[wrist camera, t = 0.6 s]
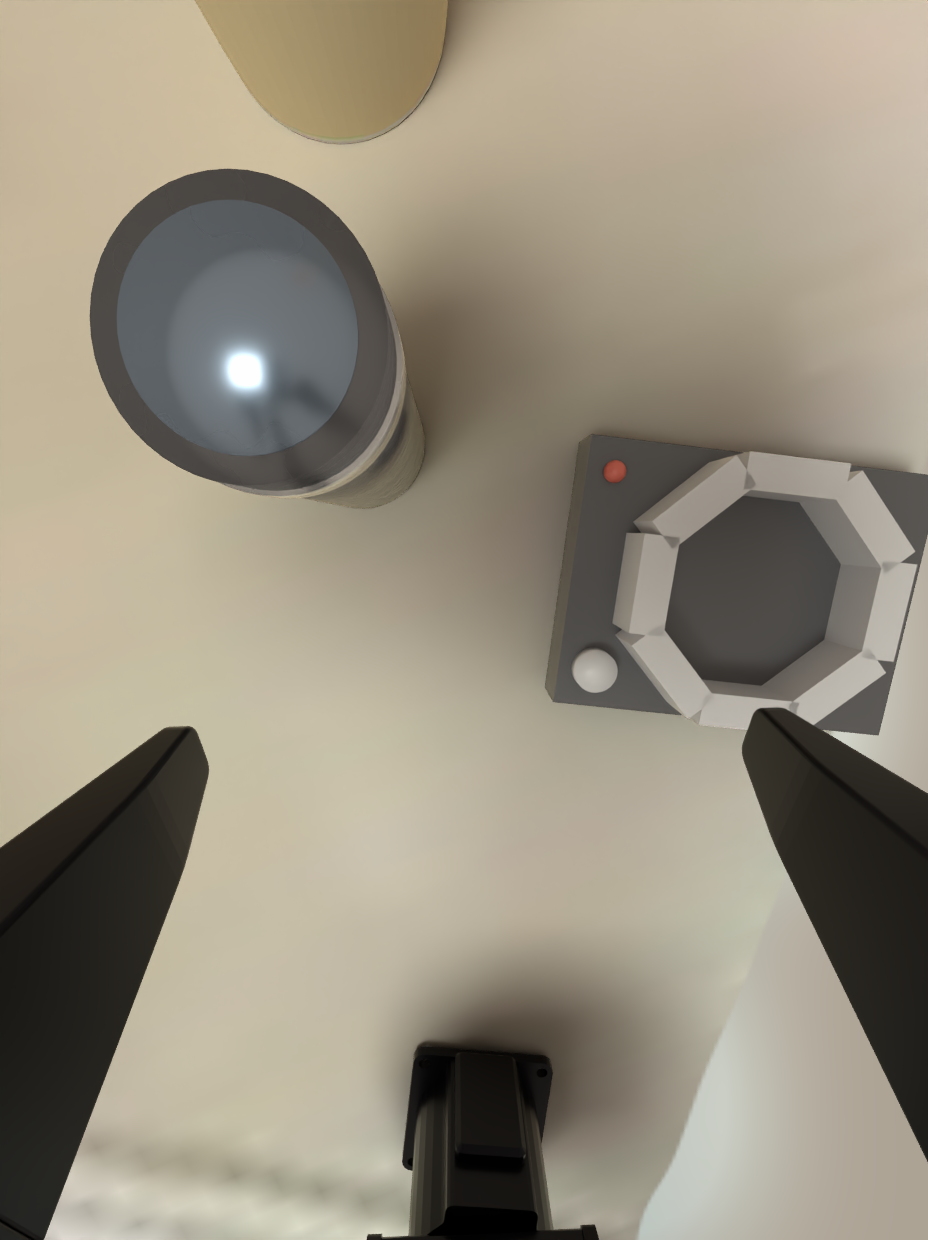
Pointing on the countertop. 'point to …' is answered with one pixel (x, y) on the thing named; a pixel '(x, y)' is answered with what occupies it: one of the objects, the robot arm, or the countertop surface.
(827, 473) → the camera body
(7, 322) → the countertop surface
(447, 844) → the countertop surface
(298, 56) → the coffee cup
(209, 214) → the lens
